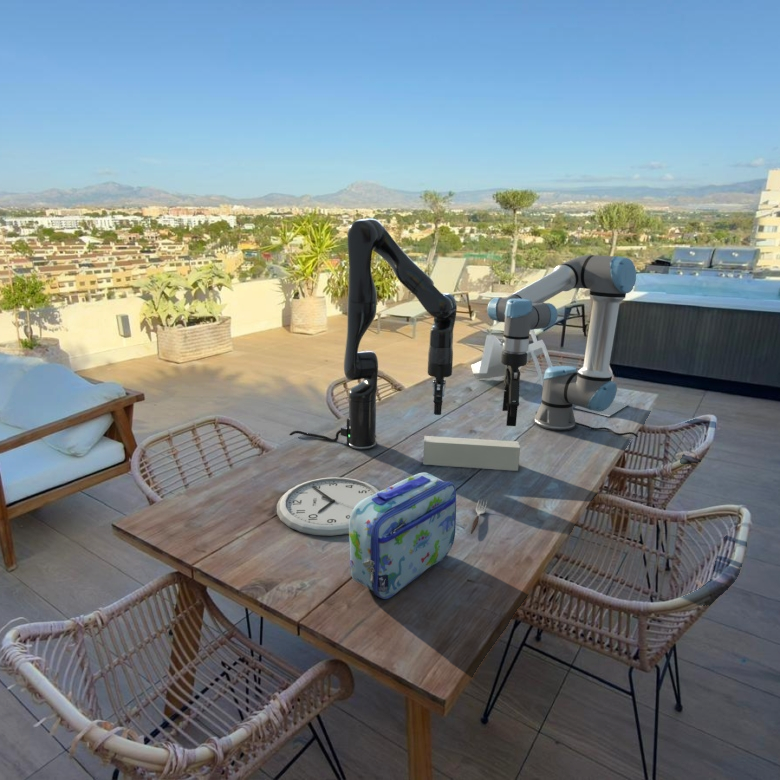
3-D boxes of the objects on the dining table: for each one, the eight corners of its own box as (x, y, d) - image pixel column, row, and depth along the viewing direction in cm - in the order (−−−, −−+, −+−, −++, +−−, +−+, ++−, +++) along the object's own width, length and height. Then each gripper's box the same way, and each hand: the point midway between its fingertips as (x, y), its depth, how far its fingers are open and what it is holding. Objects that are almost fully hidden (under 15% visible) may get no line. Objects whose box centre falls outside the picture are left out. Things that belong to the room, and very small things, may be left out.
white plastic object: (492, 421, 263) (472, 398, 238) (473, 348, 285) (453, 320, 260) (564, 397, 251) (551, 370, 226) (538, 322, 273) (524, 290, 248)
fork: (465, 534, 130) (466, 527, 129) (478, 504, 144) (478, 498, 144) (476, 536, 129) (476, 529, 128) (487, 506, 143) (488, 499, 143)
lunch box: (377, 612, 103) (378, 518, 97) (342, 586, 111) (341, 497, 104) (459, 557, 121) (465, 475, 115) (425, 538, 128) (428, 460, 122)
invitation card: (608, 416, 214) (573, 407, 224) (608, 416, 214) (573, 408, 224) (628, 404, 229) (594, 396, 238) (628, 405, 229) (594, 397, 238)
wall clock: (392, 527, 129) (268, 531, 127) (391, 533, 130) (269, 537, 127) (383, 473, 158) (282, 475, 155) (383, 478, 158) (282, 480, 156)
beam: (516, 464, 170) (518, 441, 167) (517, 470, 165) (520, 447, 163) (423, 458, 173) (424, 435, 171) (423, 464, 168) (423, 441, 166)
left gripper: (429, 354, 167) (427, 402, 172) (426, 365, 154) (424, 417, 158) (452, 355, 166) (450, 403, 171) (452, 366, 153) (449, 418, 157)
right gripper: (498, 342, 169) (493, 404, 175) (505, 360, 145) (499, 431, 151) (522, 343, 168) (516, 405, 174) (533, 362, 144) (526, 433, 151)
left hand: (438, 409), depth 165 cm, fingers open, 8 cm apart
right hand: (508, 417), depth 163 cm, fingers open, 13 cm apart
